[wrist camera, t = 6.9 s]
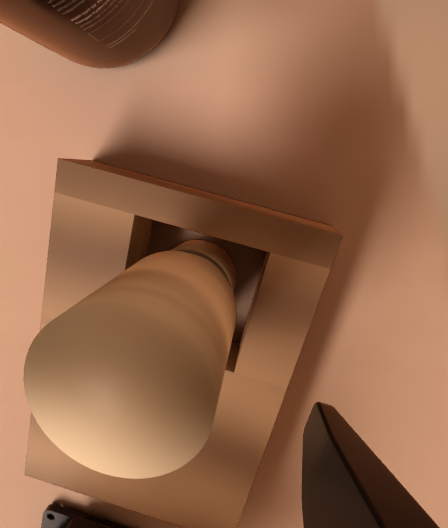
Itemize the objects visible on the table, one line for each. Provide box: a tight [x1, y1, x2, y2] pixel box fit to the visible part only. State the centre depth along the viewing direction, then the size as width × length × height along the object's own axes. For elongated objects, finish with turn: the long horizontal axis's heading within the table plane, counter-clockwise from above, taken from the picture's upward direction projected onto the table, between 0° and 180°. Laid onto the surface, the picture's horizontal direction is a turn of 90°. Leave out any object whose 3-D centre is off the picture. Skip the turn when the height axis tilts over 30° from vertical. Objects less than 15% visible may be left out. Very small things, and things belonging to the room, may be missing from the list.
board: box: [25, 158, 342, 528], centre depth 16 cm, size 16×11×2 cm
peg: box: [24, 240, 237, 479], centre depth 12 cm, size 4×4×9 cm
